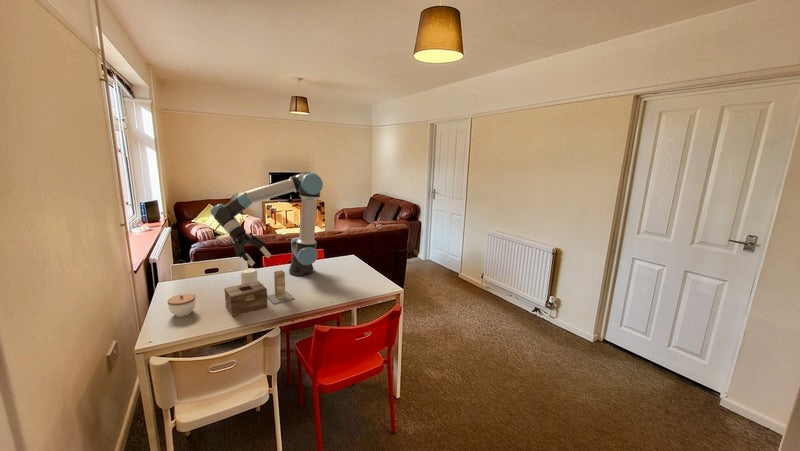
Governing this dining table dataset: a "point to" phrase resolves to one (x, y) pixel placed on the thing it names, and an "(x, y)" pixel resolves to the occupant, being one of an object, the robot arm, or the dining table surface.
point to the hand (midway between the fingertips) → (261, 260)
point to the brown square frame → (245, 298)
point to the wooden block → (279, 284)
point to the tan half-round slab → (248, 276)
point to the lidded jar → (182, 304)
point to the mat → (276, 301)
